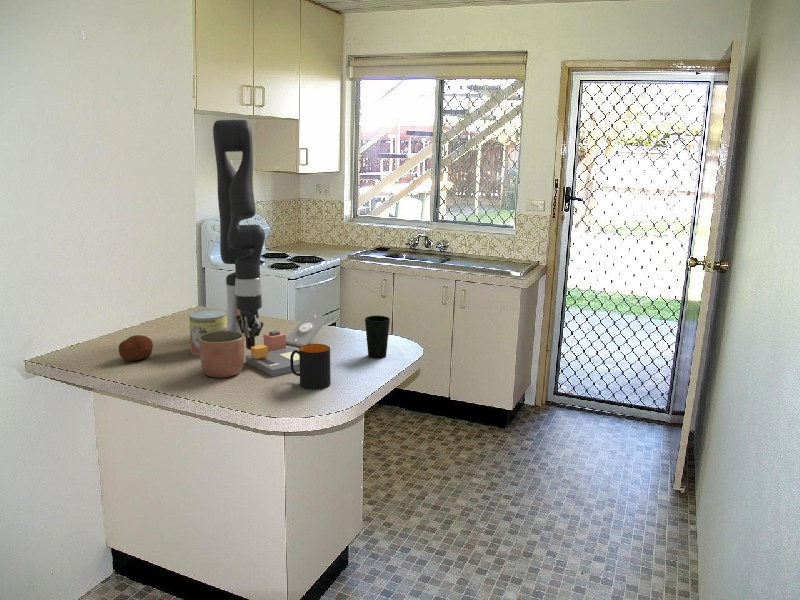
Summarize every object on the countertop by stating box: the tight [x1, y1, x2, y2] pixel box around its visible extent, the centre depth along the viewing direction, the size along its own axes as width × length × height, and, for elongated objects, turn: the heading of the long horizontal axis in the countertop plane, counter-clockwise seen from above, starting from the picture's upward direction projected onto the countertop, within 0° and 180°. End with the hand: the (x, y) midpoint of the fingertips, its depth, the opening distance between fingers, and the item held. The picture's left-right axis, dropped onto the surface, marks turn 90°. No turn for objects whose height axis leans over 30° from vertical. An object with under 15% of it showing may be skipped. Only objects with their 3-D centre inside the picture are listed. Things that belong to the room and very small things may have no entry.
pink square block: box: [263, 330, 287, 352], centre depth 210 cm, size 5×5×7 cm
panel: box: [244, 346, 300, 377], centre depth 200 cm, size 16×16×2 cm
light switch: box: [286, 312, 329, 348], centre depth 224 cm, size 8×6×14 cm
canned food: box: [188, 309, 228, 357], centre depth 211 cm, size 11×11×12 cm
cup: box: [364, 315, 391, 360], centre depth 208 cm, size 8×8×12 cm
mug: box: [290, 343, 332, 391], centre depth 183 cm, size 8×12×10 cm
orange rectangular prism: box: [250, 344, 268, 359], centre depth 199 cm, size 3×4×3 cm
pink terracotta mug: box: [198, 330, 245, 379], centre depth 190 cm, size 12×12×11 cm
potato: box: [118, 334, 154, 362], centre depth 202 cm, size 8×11×8 cm
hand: (250, 348), depth 202 cm, fingers closed
